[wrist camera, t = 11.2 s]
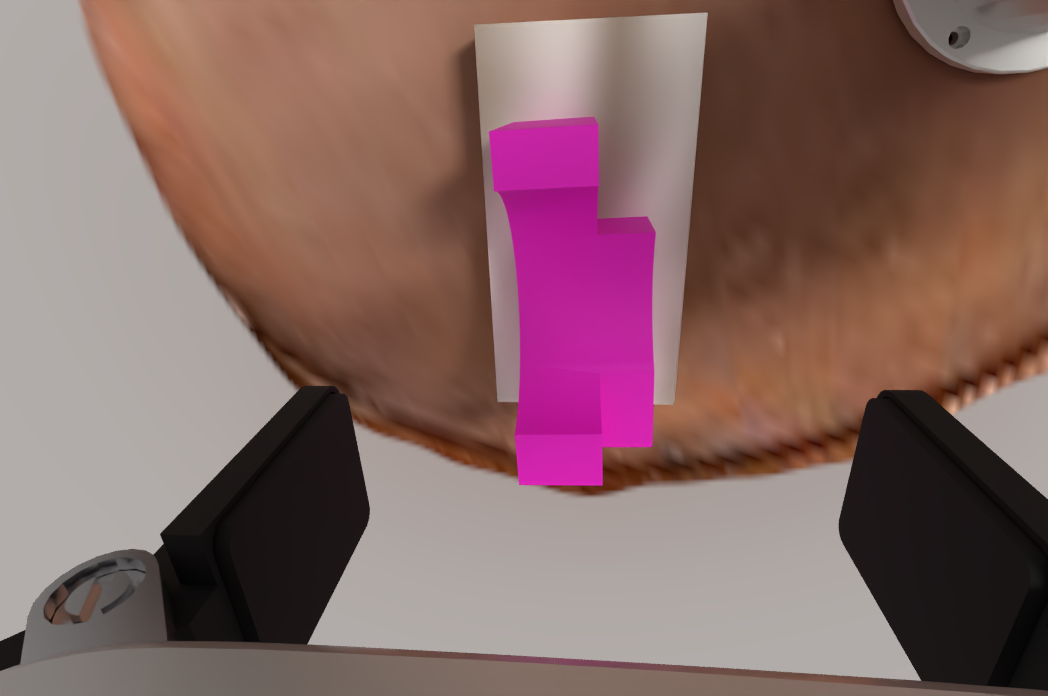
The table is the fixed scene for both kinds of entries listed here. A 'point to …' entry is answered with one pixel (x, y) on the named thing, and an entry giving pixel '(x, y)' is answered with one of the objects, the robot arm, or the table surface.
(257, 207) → the table surface
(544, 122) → the toy block
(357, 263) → the table surface
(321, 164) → the table surface
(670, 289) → the plinth
